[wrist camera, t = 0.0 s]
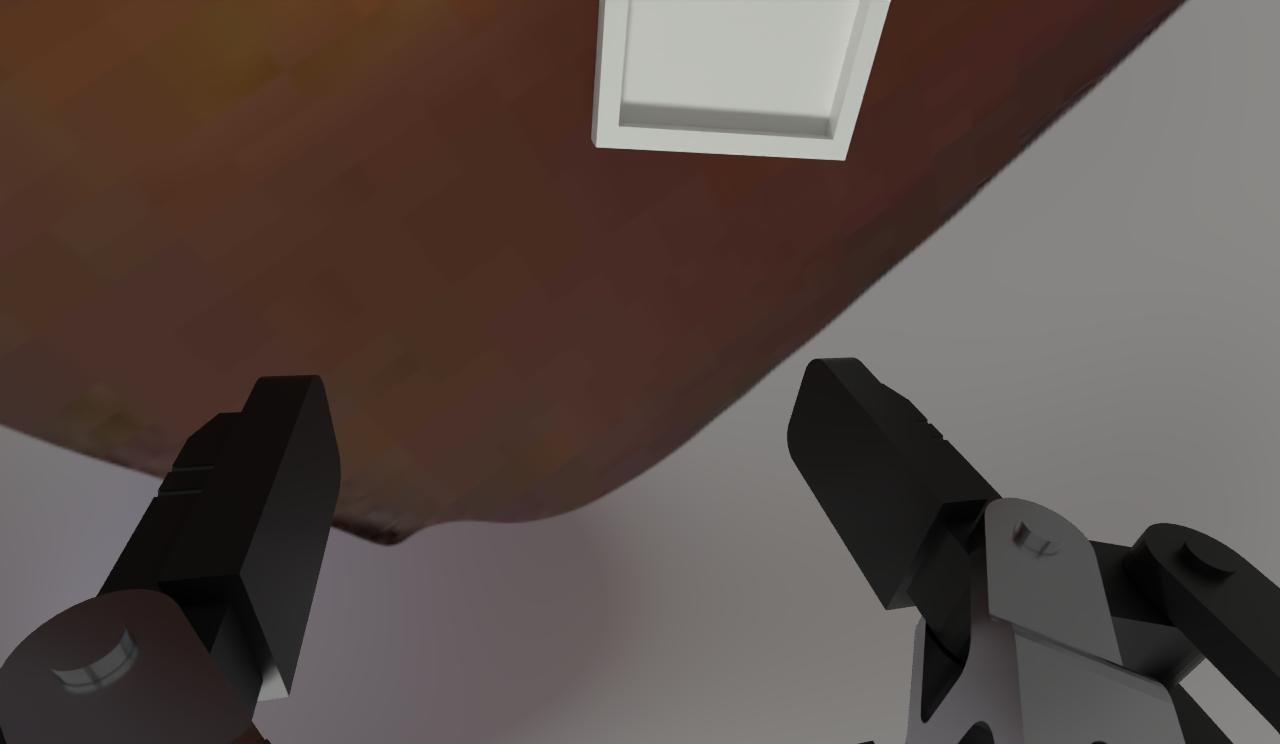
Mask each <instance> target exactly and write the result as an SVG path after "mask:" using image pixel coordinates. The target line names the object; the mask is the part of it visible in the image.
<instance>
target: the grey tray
mask: <svg viewBox="0 0 1280 744" xmlns="http://www.w3.org/2000/svg"><path fill="white" fill-rule="evenodd" d="M890 1H891V0H599V17H598V34H597V51H596V67H595V84H594V101H593V118H592V135H591V140H592V141H593V143H594V144H595V146H596V147H603V148H622V149H641V150H659V151H678V152H697V153H716V154H734V155H753V156H772V157H790V158H809V159H828V160H845V158H846V155H847V151H848V148H849V144H850V141H851V137H852V134H853V130H854V127H855V123H856V120H857V116H858V113H859V109H860V106H861V102H862V99H863V95H864V92H865V88H866V85H867V81H868V78H869V74H870V71H871V67H872V64H873V60H874V57H875V53H876V50H877V46H878V43H879V39H880V36H881V32H882V29H883V25H884V22H885V18H886V15H887V11H888V8H889V4H890Z"/></svg>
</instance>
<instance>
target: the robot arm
mask: <svg viewBox="0 0 1280 744" xmlns="http://www.w3.org/2000/svg"><path fill="white" fill-rule="evenodd" d="M787 442H788V448H789V452H790V455H791V458H792V459H793V461H794V463H795V464H796V466H797V468H798V469H799V471H800V473H801V474H802V476H803V478H804V479H805V481H806V482H807V484H808V485H809V487H810V489H811V490H812V492H813V493H814V495H815V497H816V498H817V500H818V502H819V503H820V505H821V507H822V508H823V510H824V511H825V513H826V515H827V516H828V518H829V519H830V521H831V523H832V524H833V525H834V527H835V529H836V530H837V532H838V534H839V536H840V537H841V539H842V540H843V542H844V544H845V545H846V547H847V548H848V550H849V552H850V553H851V555H852V556H853V558H854V560H855V561H856V563H857V564H858V566H859V568H860V569H861V571H862V573H863V574H864V576H865V577H866V579H867V581H868V582H869V584H870V585H871V587H872V589H873V590H874V592H875V594H876V595H877V596H878V598H879V600H880V602H881V603H882V605H883V606H884V608H885V609H886V610H891V609H897V608H905V607H911V606H916V607H917V608H918V610H919V612H920V613H921V615H922V617H921V619H920V620H919V622H918V624H917V626H916V629H915V636H914V651H913V663H912V676H911V689H910V703H909V716H908V729H907V737H906V742H905V744H1233V743H1232V742H1231V741H1230V739H1228V737H1227V736H1226V735H1225V734H1224V733H1223V732H1222V731H1221V729H1220V728H1219V727H1218V726H1217V725H1216V724H1215V723H1214V722H1213V721H1212V719H1211V718H1210V717H1209V716H1208V715H1207V714H1206V713H1205V712H1204V711H1203V709H1202V708H1201V707H1200V706H1199V705H1198V704H1197V703H1196V702H1195V701H1194V699H1193V698H1192V697H1191V696H1190V695H1189V694H1188V693H1187V692H1186V691H1185V690H1184V688H1183V687H1182V686H1181V685H1180V684H1179V682H1180V681H1181V680H1182V679H1183V678H1185V677H1186V676H1187V675H1188V674H1189V673H1190V672H1191V671H1192V670H1193V669H1194V668H1196V667H1197V666H1198V665H1199V664H1200V663H1201V662H1202V661H1203V660H1204V659H1205V658H1207V659H1208V660H1209V661H1210V662H1211V663H1212V664H1213V665H1214V666H1215V667H1216V668H1217V669H1218V670H1219V671H1220V672H1221V673H1222V674H1223V675H1224V676H1225V677H1226V679H1227V680H1228V681H1230V683H1231V684H1232V685H1233V686H1234V687H1235V688H1236V689H1237V690H1238V691H1239V692H1240V693H1241V694H1242V695H1243V696H1244V697H1245V698H1246V699H1247V700H1248V701H1249V702H1250V703H1251V704H1252V705H1253V706H1254V707H1255V708H1256V709H1257V710H1258V711H1259V712H1260V713H1261V715H1263V717H1264V718H1265V719H1266V720H1267V721H1268V722H1269V723H1270V724H1271V725H1272V726H1273V727H1274V728H1275V729H1276V730H1277V731H1278V732H1279V734H1280V588H1279V587H1277V586H1276V585H1275V584H1274V583H1273V582H1272V581H1270V580H1269V579H1268V578H1267V577H1265V576H1264V575H1263V574H1262V573H1261V572H1260V571H1259V570H1257V569H1256V568H1255V567H1254V566H1252V565H1251V564H1250V563H1249V562H1248V561H1247V560H1245V559H1244V558H1243V557H1241V556H1240V555H1239V554H1238V553H1236V552H1235V551H1234V550H1232V549H1231V548H1229V547H1227V546H1226V545H1224V544H1223V543H1221V542H1219V541H1217V540H1216V539H1214V538H1212V537H1210V536H1208V535H1206V534H1203V533H1201V532H1198V531H1196V530H1193V529H1190V528H1188V527H1184V526H1180V525H1176V524H1169V523H1159V524H1154V525H1151V526H1149V527H1148V528H1147V529H1146V531H1145V532H1144V533H1143V534H1142V535H1141V536H1140V538H1139V539H1138V540H1137V541H1136V543H1135V544H1134V545H1133V546H1132V547H1126V546H1120V545H1114V544H1108V543H1102V542H1096V541H1090V540H1088V539H1087V538H1086V537H1085V536H1084V534H1083V533H1082V532H1081V531H1080V530H1079V529H1078V528H1077V527H1076V526H1074V525H1073V524H1072V523H1071V522H1069V521H1068V520H1067V519H1065V518H1064V517H1062V516H1061V515H1059V514H1058V513H1056V512H1054V511H1052V510H1050V509H1048V508H1046V507H1044V506H1042V505H1039V504H1037V503H1034V502H1031V501H1027V500H1023V499H1018V498H1002V497H1001V496H1000V495H999V494H998V493H997V492H996V491H995V490H994V489H993V488H992V486H991V485H990V484H989V483H988V482H987V481H986V480H985V479H984V478H983V477H982V476H981V475H980V474H979V473H978V472H977V471H976V470H975V469H974V468H973V467H972V466H971V464H970V463H969V462H968V461H967V460H966V459H965V458H964V457H963V456H962V455H961V454H960V453H959V452H958V451H957V450H956V449H955V448H954V447H953V446H952V445H951V444H950V443H949V441H947V440H943V435H942V434H941V433H940V432H939V431H938V430H937V429H936V428H935V427H934V426H933V425H932V424H928V423H927V419H926V417H925V416H924V415H923V414H922V413H921V412H920V411H919V410H918V409H917V408H916V407H915V406H914V405H913V404H912V403H911V402H910V401H909V400H908V399H906V398H905V397H903V396H901V395H900V394H898V393H897V392H895V391H894V390H892V389H890V388H889V387H887V386H886V385H884V384H881V383H880V382H879V381H878V380H877V378H876V377H875V376H874V375H873V374H872V373H871V372H870V371H869V370H868V369H867V368H866V367H865V366H864V364H863V363H862V362H861V361H859V360H858V359H856V358H825V359H814V360H812V361H811V362H810V363H809V364H808V366H807V367H806V370H805V373H804V376H803V379H802V383H801V386H800V389H799V392H798V396H797V399H796V402H795V406H794V409H793V412H792V415H791V418H790V422H789V425H788V431H787ZM340 479H341V467H340V456H339V450H338V446H337V441H336V437H335V432H334V428H333V423H332V419H331V414H330V410H329V405H328V401H327V396H326V392H325V388H324V384H323V381H322V379H321V378H320V376H318V375H299V376H270V377H260V378H259V379H258V380H257V382H256V384H255V386H254V388H253V390H252V392H251V394H250V396H249V398H248V400H247V402H246V404H245V406H244V408H243V410H242V412H235V413H219V414H218V415H216V416H215V417H214V418H213V419H211V420H210V421H209V422H208V423H206V424H205V425H204V426H203V427H201V428H200V429H199V430H198V431H197V432H195V433H194V434H193V435H192V436H190V437H189V438H188V439H187V441H186V443H185V445H184V446H183V448H182V450H181V452H180V453H179V455H178V457H177V458H176V460H175V462H174V464H173V465H172V472H168V474H167V476H166V477H165V479H164V481H163V483H162V485H161V486H160V488H159V490H158V497H154V498H153V500H152V502H151V504H150V505H149V507H148V509H147V510H146V512H145V514H144V515H143V517H142V519H141V521H140V522H139V524H138V526H137V528H136V529H135V531H134V533H133V534H132V536H131V538H130V540H129V541H128V543H127V545H126V547H125V548H124V550H123V552H122V553H121V555H120V557H119V559H118V561H117V562H116V564H115V566H114V567H113V569H112V571H111V572H110V574H109V576H108V578H107V580H106V581H105V583H104V585H103V586H102V588H101V590H100V591H99V593H98V595H97V596H96V597H94V598H91V599H88V600H86V601H84V602H81V603H79V604H77V605H74V606H72V607H70V608H69V609H67V610H65V611H63V612H61V613H60V614H57V615H56V616H54V617H53V618H51V619H50V620H48V621H47V622H45V623H44V624H42V625H41V626H40V627H38V628H37V629H36V630H35V631H33V632H32V633H31V634H30V635H28V636H27V637H26V638H25V639H24V640H23V641H22V642H21V643H20V644H19V645H18V646H17V647H16V648H15V649H14V651H13V652H12V653H11V654H10V656H9V657H8V658H7V659H6V661H5V662H4V664H3V666H2V667H1V668H0V744H271V743H270V742H269V741H268V740H267V739H266V740H264V738H263V737H262V736H261V734H260V733H259V731H258V730H257V728H256V727H255V725H254V724H253V722H252V717H253V714H254V710H255V706H256V703H257V701H263V700H270V699H277V698H283V697H289V694H290V690H291V686H292V682H293V678H294V673H295V670H296V666H297V662H298V657H299V654H300V649H301V645H302V641H303V637H304V633H305V629H306V625H307V621H308V617H309V613H310V609H311V605H312V601H313V596H314V593H315V589H316V584H317V580H318V576H319V572H320V568H321V564H322V560H323V556H324V552H325V548H326V544H327V540H328V536H329V532H330V527H331V523H332V519H333V515H334V511H335V507H336V503H337V499H338V495H339V489H340ZM860 744H874V742H873V741H869V742H864V743H860Z"/></svg>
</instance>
